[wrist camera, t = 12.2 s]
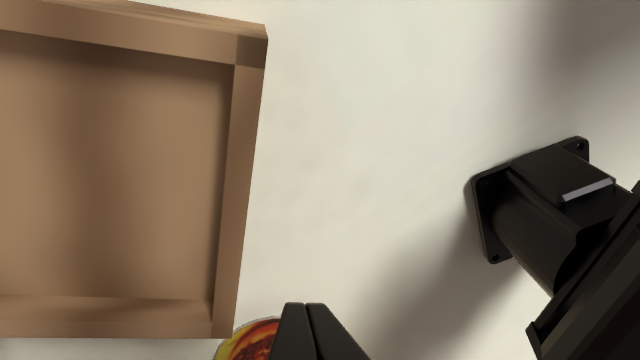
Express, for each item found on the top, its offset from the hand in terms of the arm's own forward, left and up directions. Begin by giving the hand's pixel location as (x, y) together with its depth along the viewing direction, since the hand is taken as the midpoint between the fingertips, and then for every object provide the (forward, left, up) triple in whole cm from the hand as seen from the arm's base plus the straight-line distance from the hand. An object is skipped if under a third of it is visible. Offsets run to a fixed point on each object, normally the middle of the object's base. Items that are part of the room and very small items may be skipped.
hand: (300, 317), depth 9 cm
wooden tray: (+1, +8, -12) cm, 14 cm away
